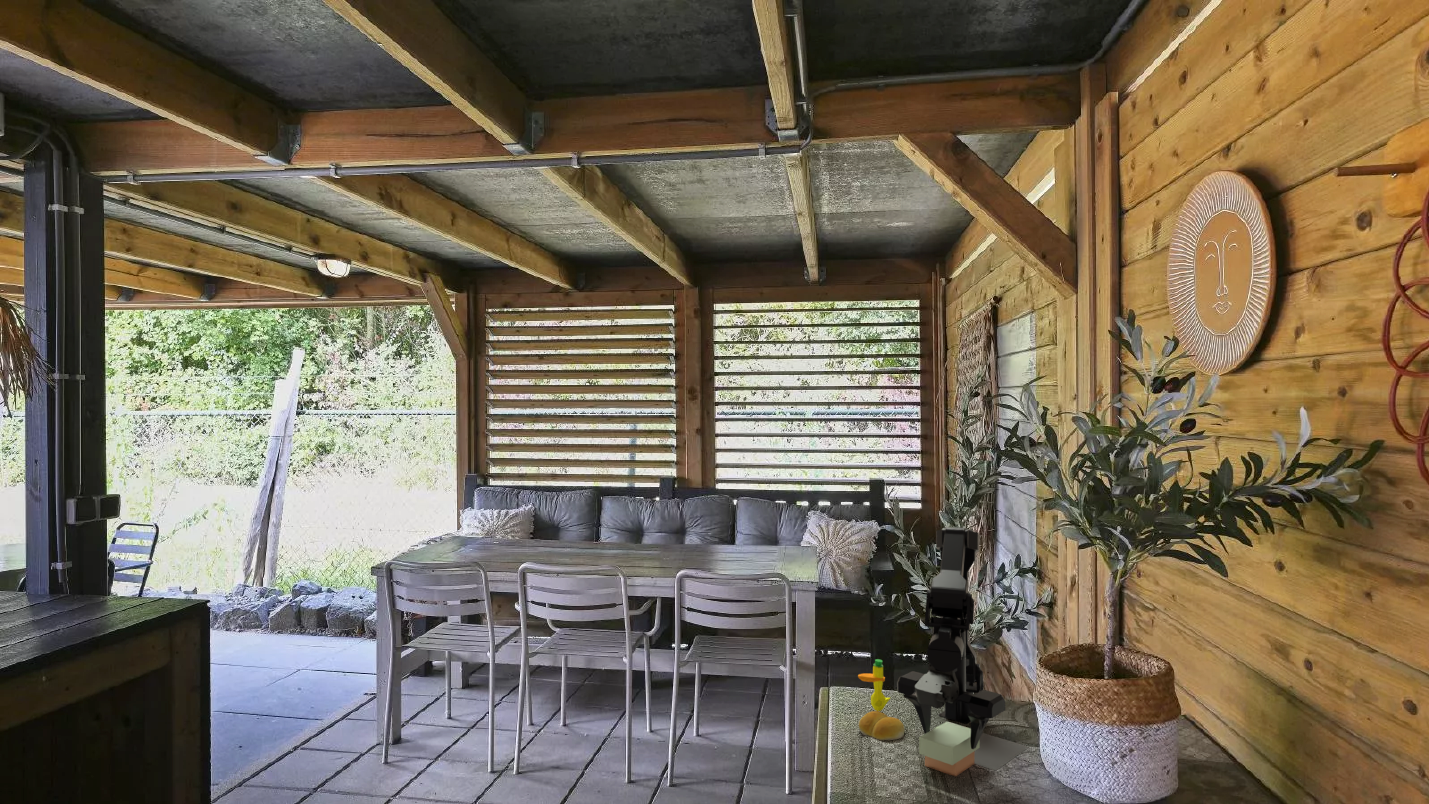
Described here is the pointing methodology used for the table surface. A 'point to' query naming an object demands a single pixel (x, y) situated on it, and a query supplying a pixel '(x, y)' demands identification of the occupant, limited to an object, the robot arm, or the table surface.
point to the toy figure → (876, 685)
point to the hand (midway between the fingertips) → (949, 740)
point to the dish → (951, 769)
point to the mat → (996, 752)
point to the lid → (947, 743)
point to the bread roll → (881, 726)
